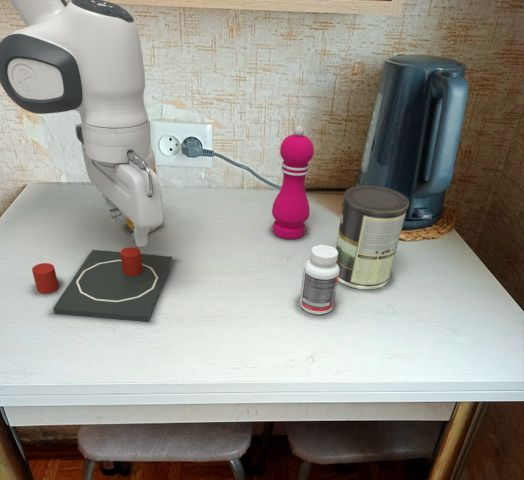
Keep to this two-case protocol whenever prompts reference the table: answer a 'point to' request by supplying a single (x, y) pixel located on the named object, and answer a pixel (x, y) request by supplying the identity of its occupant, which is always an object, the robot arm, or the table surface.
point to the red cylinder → (131, 261)
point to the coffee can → (369, 235)
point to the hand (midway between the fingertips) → (127, 231)
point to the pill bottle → (320, 280)
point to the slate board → (114, 288)
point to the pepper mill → (293, 186)
